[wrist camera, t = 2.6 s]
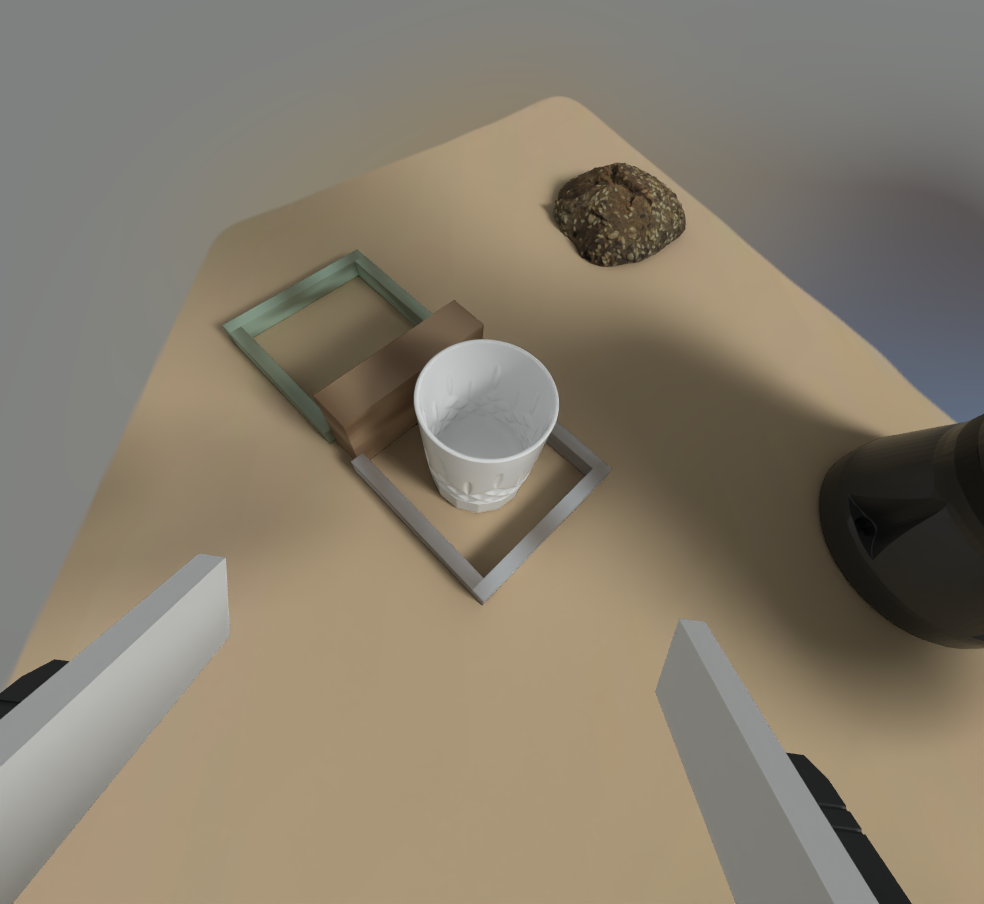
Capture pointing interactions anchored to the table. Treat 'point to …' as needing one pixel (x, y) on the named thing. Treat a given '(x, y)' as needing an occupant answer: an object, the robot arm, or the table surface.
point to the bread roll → (618, 214)
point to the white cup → (484, 420)
